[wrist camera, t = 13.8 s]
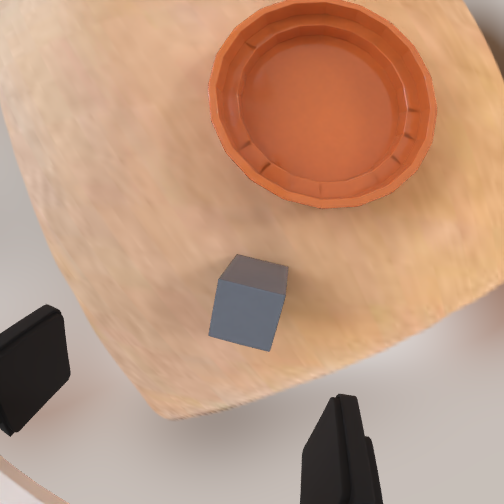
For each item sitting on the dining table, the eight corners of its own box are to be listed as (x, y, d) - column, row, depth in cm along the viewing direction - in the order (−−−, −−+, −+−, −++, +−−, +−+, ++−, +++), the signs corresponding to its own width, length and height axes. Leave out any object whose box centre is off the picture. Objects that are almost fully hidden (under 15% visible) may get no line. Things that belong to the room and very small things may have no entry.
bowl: (205, 178, 25) (187, 179, 21) (246, 10, 21) (236, -15, 16) (393, 224, 24) (412, 234, 19) (423, 53, 20) (442, 35, 15)
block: (227, 301, 28) (208, 336, 21) (236, 254, 26) (218, 278, 20) (276, 313, 27) (269, 352, 21) (288, 266, 26) (285, 295, 20)
